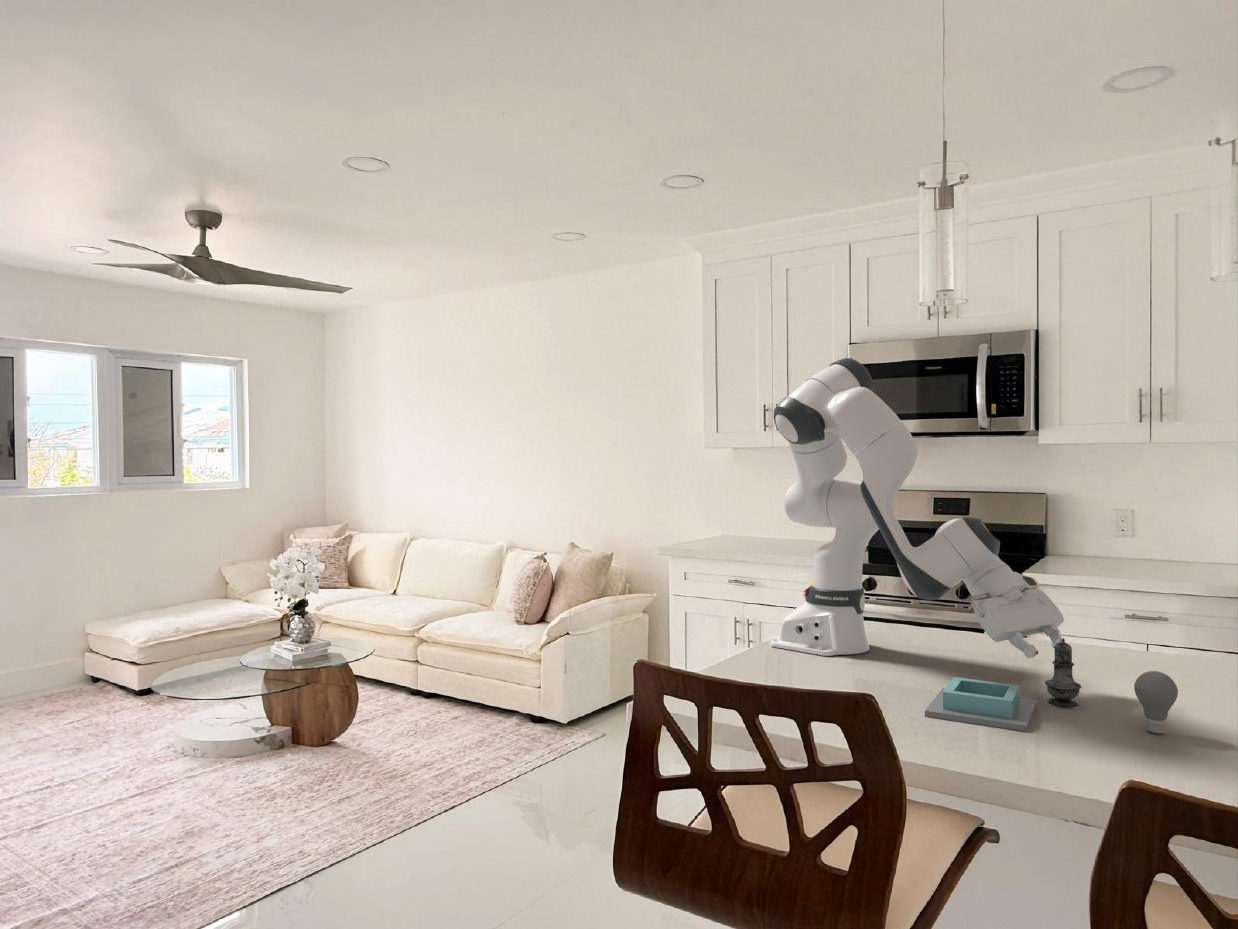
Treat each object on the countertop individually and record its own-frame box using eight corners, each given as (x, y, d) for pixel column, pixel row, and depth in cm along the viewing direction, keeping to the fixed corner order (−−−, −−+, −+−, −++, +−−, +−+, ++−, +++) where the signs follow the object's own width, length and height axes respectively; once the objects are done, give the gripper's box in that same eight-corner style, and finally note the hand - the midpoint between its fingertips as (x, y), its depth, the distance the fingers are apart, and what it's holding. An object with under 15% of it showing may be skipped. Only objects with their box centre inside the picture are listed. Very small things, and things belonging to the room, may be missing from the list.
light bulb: (1168, 741, 134) (1168, 678, 134) (1127, 731, 139) (1127, 670, 138) (1184, 734, 137) (1184, 672, 137) (1143, 724, 142) (1144, 665, 142)
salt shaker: (1039, 703, 154) (1039, 637, 154) (1053, 697, 158) (1053, 633, 158) (1073, 711, 150) (1073, 643, 149) (1086, 704, 153) (1087, 638, 153)
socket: (924, 716, 147) (924, 693, 147) (942, 693, 161) (942, 672, 161) (1026, 731, 139) (1026, 707, 139) (1036, 706, 152) (1036, 684, 152)
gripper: (977, 586, 156) (1027, 650, 148) (1040, 577, 167) (1090, 636, 159) (955, 607, 159) (1003, 670, 151) (1018, 597, 171) (1066, 655, 163)
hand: (1048, 652), depth 155 cm, fingers open, 8 cm apart
